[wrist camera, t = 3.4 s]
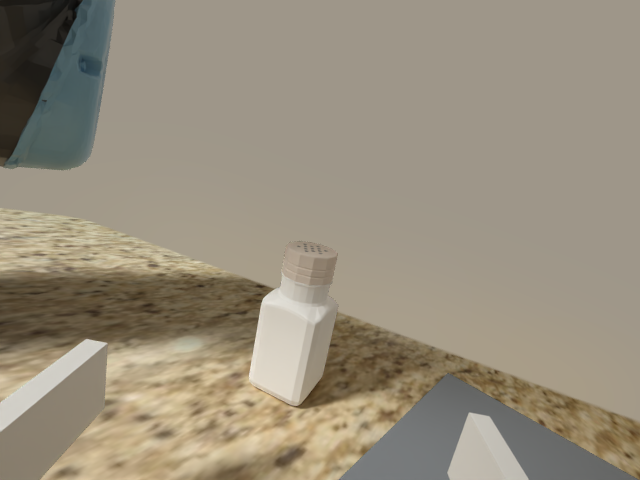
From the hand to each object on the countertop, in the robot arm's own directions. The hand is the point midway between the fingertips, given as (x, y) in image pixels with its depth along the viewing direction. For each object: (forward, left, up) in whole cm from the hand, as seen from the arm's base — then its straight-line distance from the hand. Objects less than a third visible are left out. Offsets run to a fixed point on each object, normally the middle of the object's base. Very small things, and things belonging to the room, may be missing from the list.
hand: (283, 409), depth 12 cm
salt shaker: (-6, +7, -6) cm, 11 cm away
